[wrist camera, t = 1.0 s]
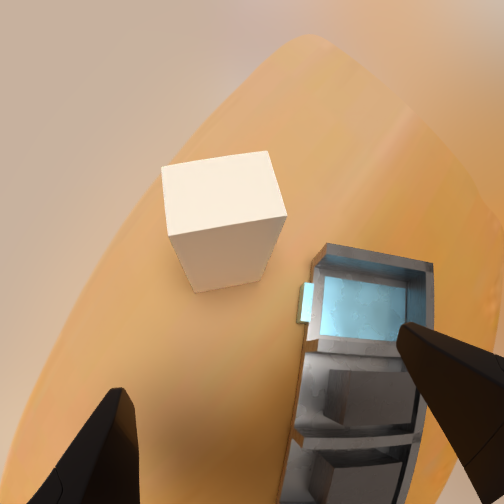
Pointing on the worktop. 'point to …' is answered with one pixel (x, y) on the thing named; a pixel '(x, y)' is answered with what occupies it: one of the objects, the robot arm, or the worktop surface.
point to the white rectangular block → (223, 218)
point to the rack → (356, 380)
